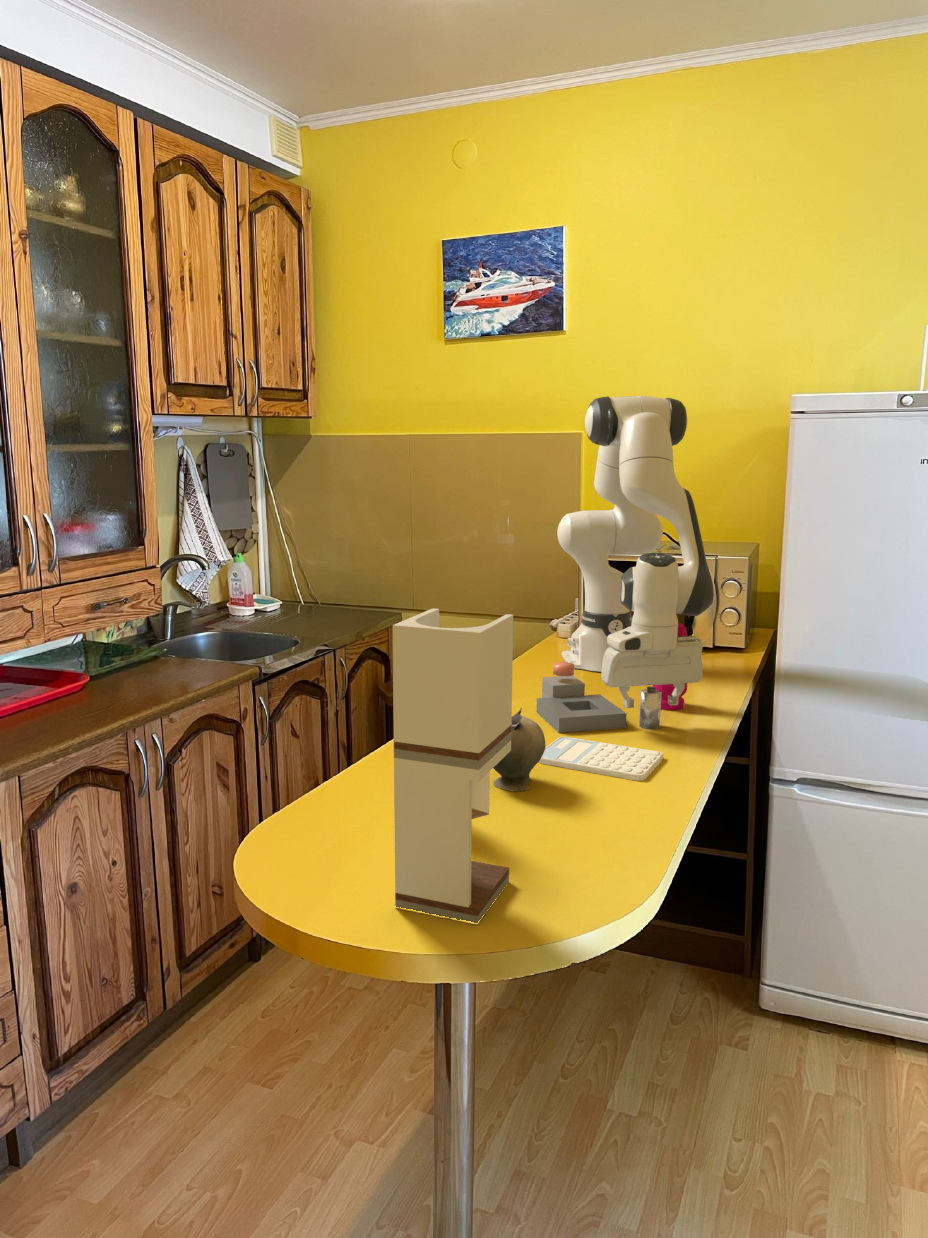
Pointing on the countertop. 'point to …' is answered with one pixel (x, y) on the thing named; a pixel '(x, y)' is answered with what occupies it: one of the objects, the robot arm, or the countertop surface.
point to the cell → (650, 708)
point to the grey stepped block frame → (576, 707)
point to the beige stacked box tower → (447, 759)
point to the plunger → (563, 669)
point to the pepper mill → (669, 688)
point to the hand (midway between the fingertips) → (650, 706)
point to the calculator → (601, 758)
